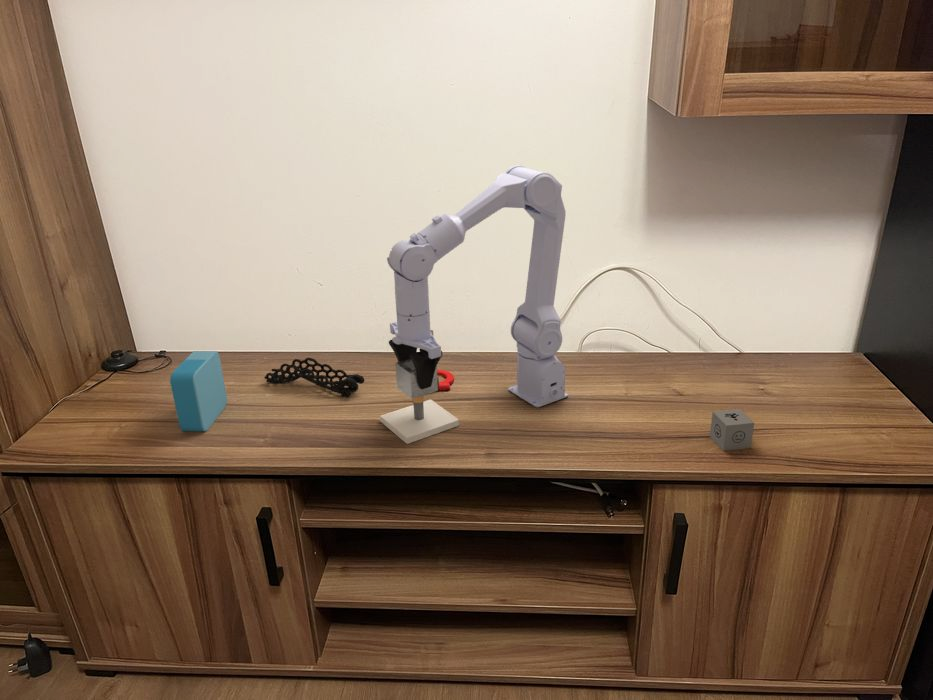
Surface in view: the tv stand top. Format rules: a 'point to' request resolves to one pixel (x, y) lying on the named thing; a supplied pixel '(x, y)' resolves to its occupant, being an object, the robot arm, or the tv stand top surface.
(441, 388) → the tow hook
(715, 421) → the dice cube
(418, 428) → the plate
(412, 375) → the hollow square tube
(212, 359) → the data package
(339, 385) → the decorative element
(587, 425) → the tv stand top surface
